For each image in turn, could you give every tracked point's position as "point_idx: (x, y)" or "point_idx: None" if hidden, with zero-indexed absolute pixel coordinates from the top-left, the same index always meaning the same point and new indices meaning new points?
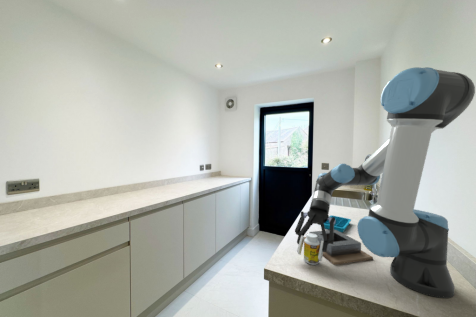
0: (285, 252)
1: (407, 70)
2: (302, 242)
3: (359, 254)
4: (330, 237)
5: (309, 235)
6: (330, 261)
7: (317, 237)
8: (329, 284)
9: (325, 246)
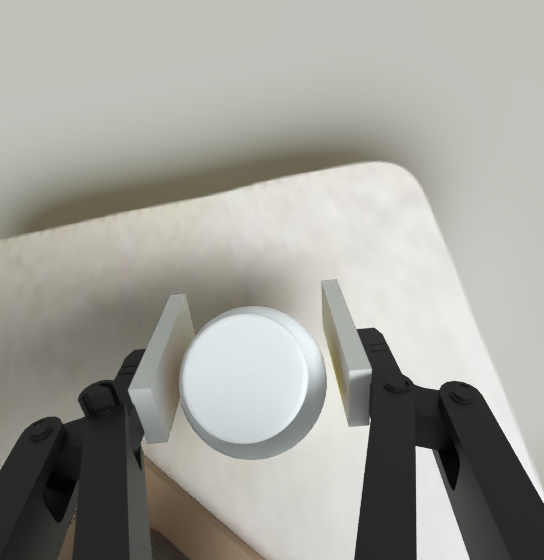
0: (450, 372)
1: None
2: (337, 360)
3: None
4: (35, 452)
5: (263, 341)
6: (159, 470)
7: (184, 387)
8: (130, 237)
9: (123, 375)
